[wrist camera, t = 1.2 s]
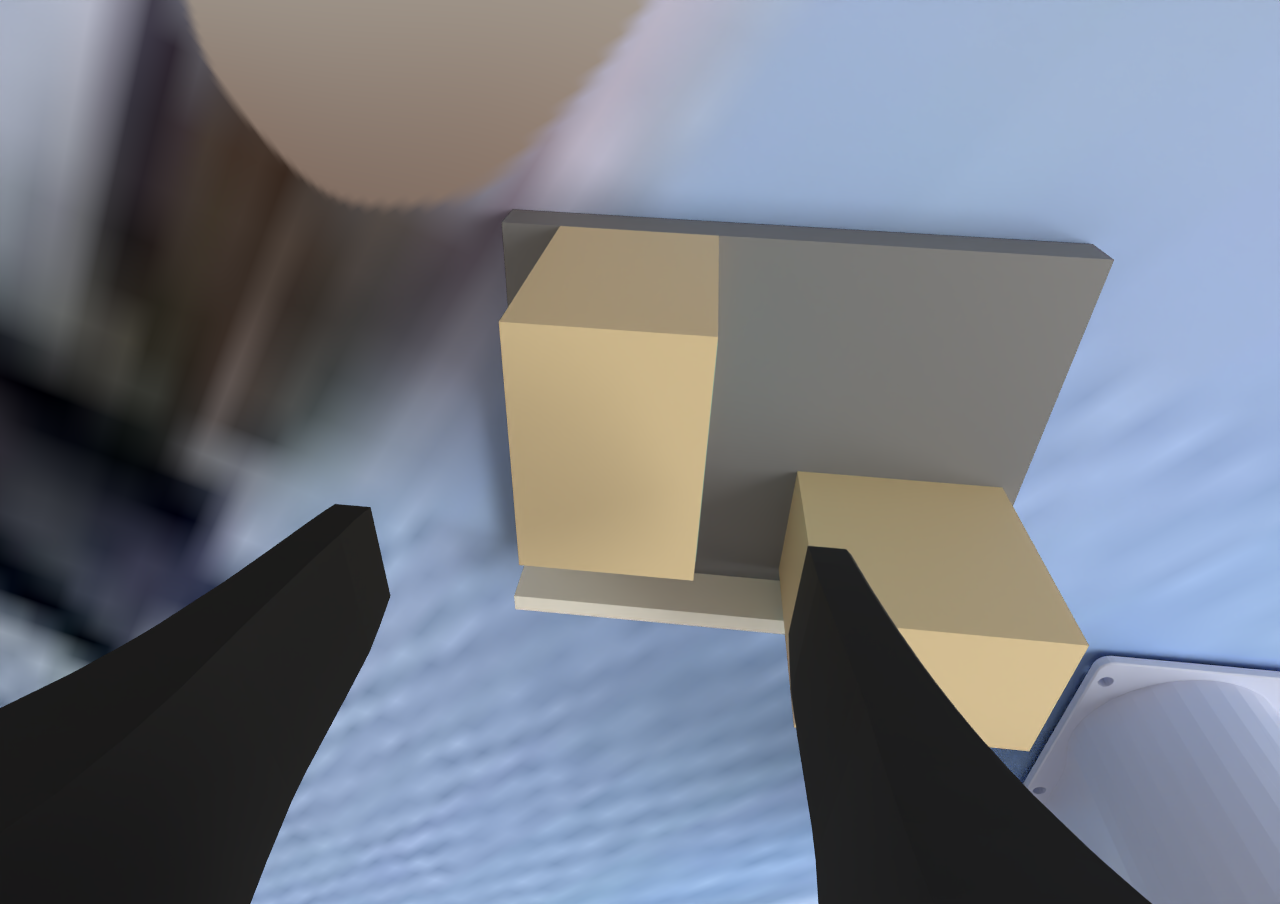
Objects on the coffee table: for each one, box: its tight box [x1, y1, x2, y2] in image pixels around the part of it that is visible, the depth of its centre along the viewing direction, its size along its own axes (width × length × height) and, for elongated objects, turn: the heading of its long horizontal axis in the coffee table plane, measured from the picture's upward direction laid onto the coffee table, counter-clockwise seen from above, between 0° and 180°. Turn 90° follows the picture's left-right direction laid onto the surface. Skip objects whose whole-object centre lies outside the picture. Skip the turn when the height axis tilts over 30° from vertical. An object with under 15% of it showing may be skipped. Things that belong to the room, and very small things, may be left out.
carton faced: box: [779, 471, 1089, 751], centre depth 20 cm, size 6×4×6 cm, turn 88°
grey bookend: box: [502, 210, 1114, 634], centre depth 21 cm, size 12×15×3 cm
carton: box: [499, 226, 719, 581], centre depth 17 cm, size 6×4×6 cm, turn 178°
